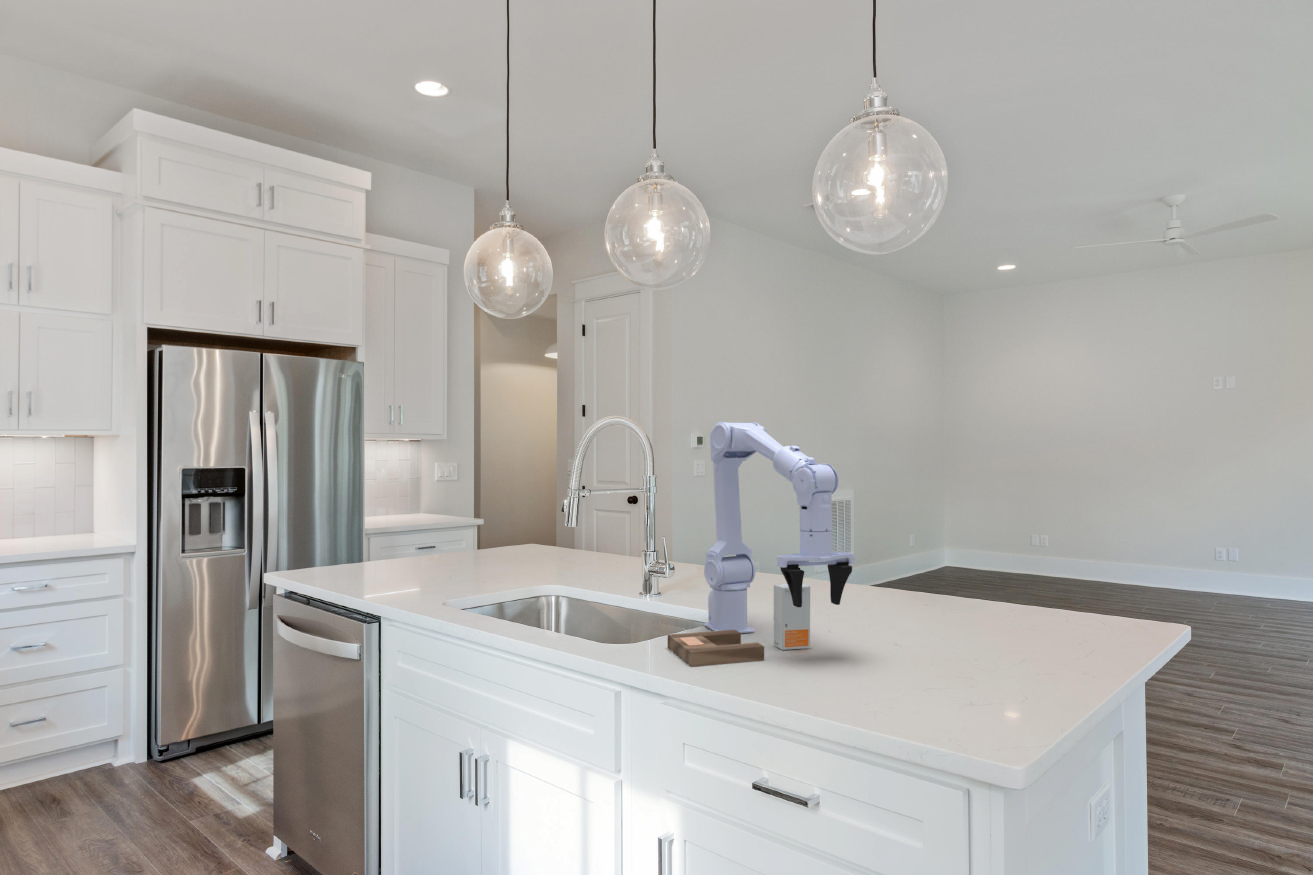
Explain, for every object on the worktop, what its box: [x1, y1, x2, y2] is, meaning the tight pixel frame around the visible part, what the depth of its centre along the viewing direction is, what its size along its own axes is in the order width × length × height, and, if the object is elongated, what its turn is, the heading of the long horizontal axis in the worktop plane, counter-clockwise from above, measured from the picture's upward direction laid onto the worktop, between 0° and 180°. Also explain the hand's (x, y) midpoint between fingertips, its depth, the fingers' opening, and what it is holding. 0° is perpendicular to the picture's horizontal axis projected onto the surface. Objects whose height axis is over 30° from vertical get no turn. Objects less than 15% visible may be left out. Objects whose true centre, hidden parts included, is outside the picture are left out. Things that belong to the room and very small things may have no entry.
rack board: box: [667, 630, 765, 668], centre depth 146 cm, size 14×14×3 cm
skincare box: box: [773, 583, 811, 651], centre depth 151 cm, size 6×4×12 cm
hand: (816, 605), depth 142 cm, fingers open, 7 cm apart
